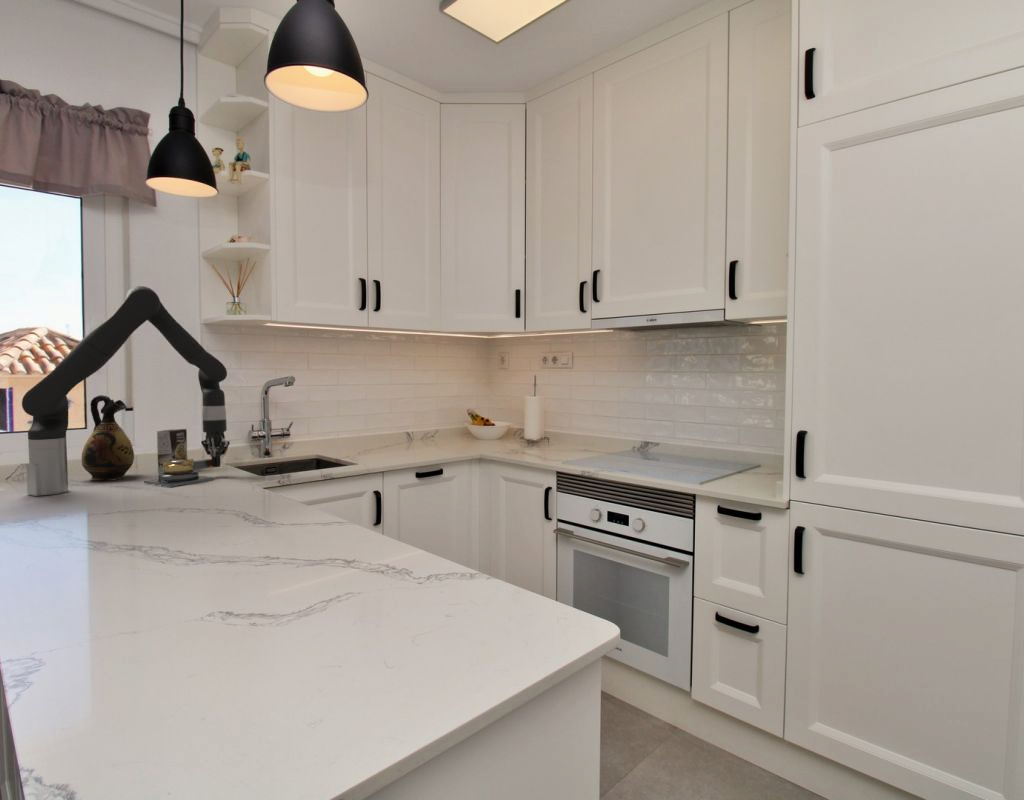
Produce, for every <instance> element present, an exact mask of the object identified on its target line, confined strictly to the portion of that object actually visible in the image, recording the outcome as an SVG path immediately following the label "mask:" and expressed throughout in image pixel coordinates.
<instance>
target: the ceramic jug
mask: <svg viewBox="0 0 1024 800" xmlns="http://www.w3.org/2000/svg"><path fill="white" fill-rule="evenodd" d="M100 402H103V404H104V405H103V406H102V408H100V412H99V408H98V406H99V404H100ZM126 409H127V406H126V404H125V403H124V402H123V401H122V400H121V399H118V400H115V401H114V399H111V398H110V397H109V396H107V395H102V394H99V395H97V396H95V397H93V398H92V399H91V401H90V413H91V415H92V419H93V422H94V428H93V430H92V432H91V434H90V436H89V438H88V439H87V440H86V442H85V444H84V446H83V449H82V452H81V465H82V467H83V468H84V470H85V471H86V472H87V473H89V474H90V475H91V480H93V481H97V480H98V481H99V480H107V481H112V480H111V479H118V480H120V479H119V478H121V479H124V478H123V477H125V475H126V473H127V472H128V471H129V469H131V468H132V466H133V464H134V460H135V452H134V448H133V444H132V442H131V440H130V438H129V437H128V435H127V434H126V432H125V431H124V429H122V427H121V426H120V425H119V424H118V423H117V421H116V418H115V415H116V413H119V412H120V411H122V410H126ZM100 413H101V414H102V418H101V416H100ZM99 482H100V481H99Z"/></svg>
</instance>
